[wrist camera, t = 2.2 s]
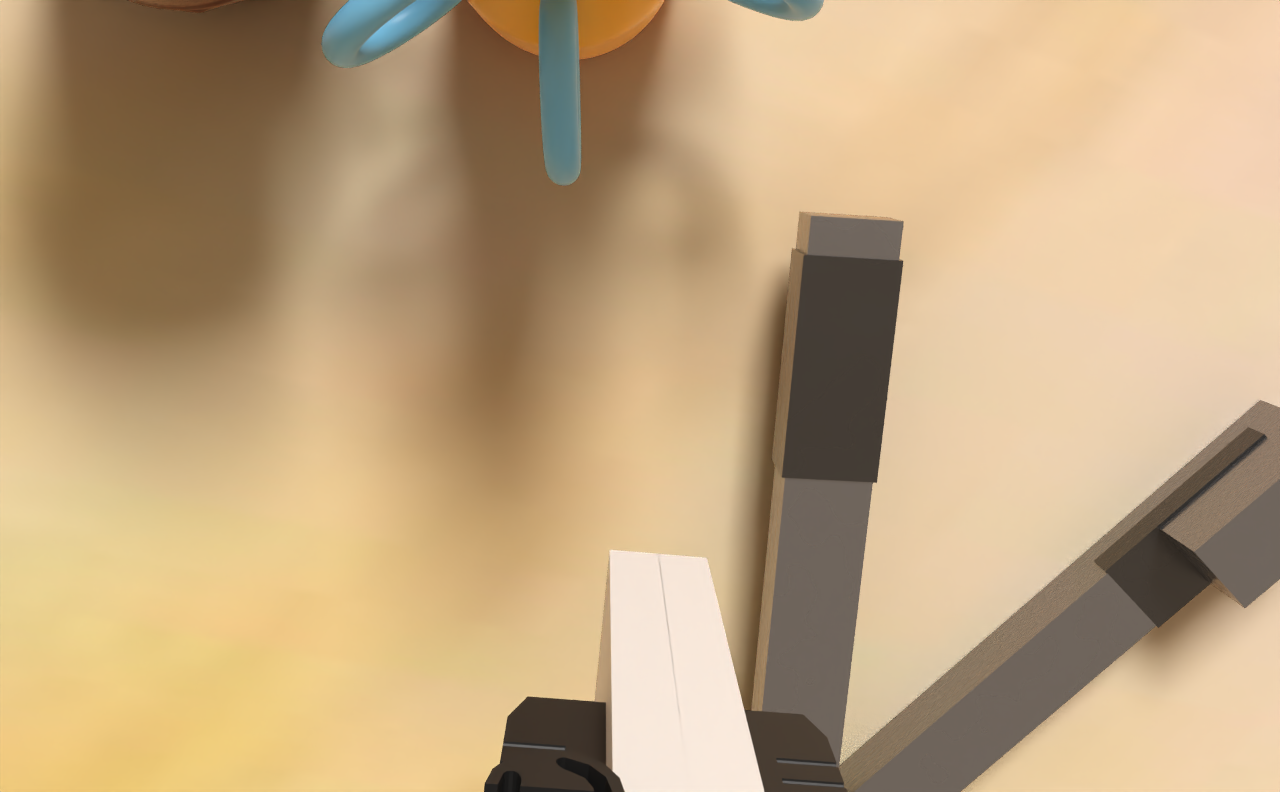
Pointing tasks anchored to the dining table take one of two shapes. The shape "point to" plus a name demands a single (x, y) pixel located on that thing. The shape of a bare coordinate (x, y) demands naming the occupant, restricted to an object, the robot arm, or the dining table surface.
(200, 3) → the mug
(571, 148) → the cylinder
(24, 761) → the dining table surface
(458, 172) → the dining table surface
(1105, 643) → the tongs fixed
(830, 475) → the tongs arm
